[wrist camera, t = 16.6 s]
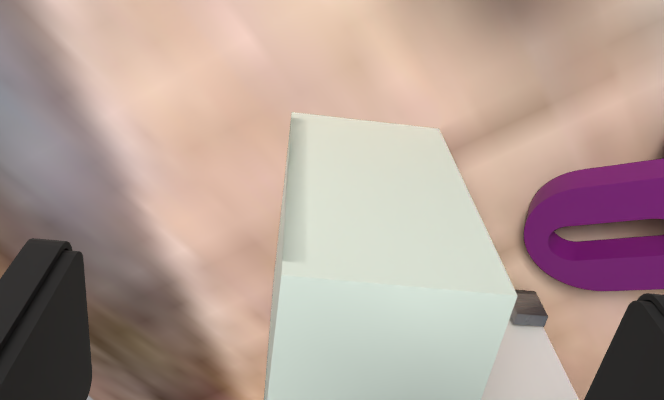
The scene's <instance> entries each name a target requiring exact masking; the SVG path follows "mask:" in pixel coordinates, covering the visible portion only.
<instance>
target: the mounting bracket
mask: <svg viewBox="0 0 664 400" xmlns="http://www.w3.org/2000/svg"><path fill="white" fill-rule="evenodd" d="M643 219H664V158H662V159H656V160H649V161H641V162H634V163H627V164H620V165H612V166H605V167H598V168H590V169H583V170H577V171H573V172H569V173H566V174H563V175H560V176H558V177H556V178H554V179H552V180H551V181H549V182H548V183H546V184H545V185H544V186H543V187H542V188H541V189H540V190H539V191H538V192H537V193H536V194H535V196H534V197H533V199H532V201H531V204H530V207H529V211H528V215H527V219H526V224H525V228H524V241H525V245H526V248H527V251H528V253H529V255H530V256H531V258H532V259H533V261H534V262H535V263H536V264H537V265H538V266H539V267H540V268H541V269H542V270H543V271H544V272H546V273H547V274H548V275H550V276H551V277H553V278H555V279H557V280H558V281H561V282H563V283H565V284H568V285H571V286H574V287H577V288H581V289H586V290H593V291H624V290H652V289H664V235H658V236H645V237H632V238H619V239H607V240H594V241H581V242H573V241H568V240H565V239H563V238H561V237H559V236H558V235H557V234H556V233H555V232H554V230H556V229H558V228H561V227H566V226H577V225H588V224H599V223H610V222H621V221H632V220H643Z"/></svg>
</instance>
